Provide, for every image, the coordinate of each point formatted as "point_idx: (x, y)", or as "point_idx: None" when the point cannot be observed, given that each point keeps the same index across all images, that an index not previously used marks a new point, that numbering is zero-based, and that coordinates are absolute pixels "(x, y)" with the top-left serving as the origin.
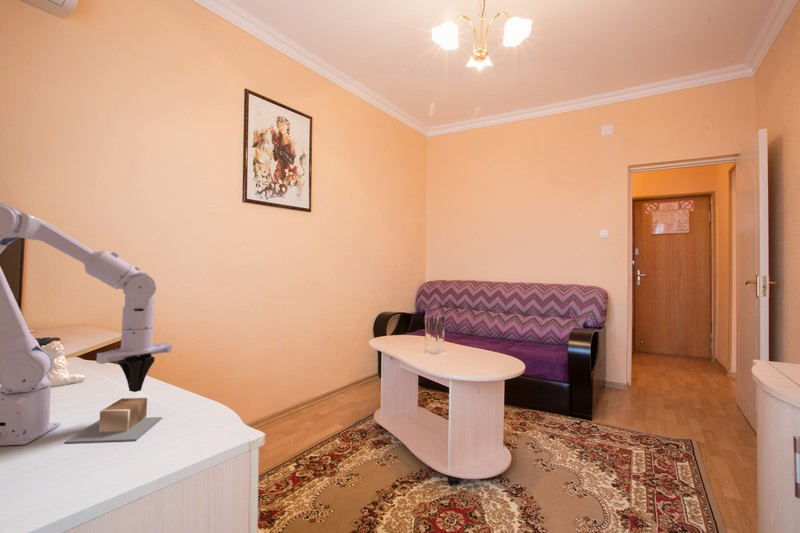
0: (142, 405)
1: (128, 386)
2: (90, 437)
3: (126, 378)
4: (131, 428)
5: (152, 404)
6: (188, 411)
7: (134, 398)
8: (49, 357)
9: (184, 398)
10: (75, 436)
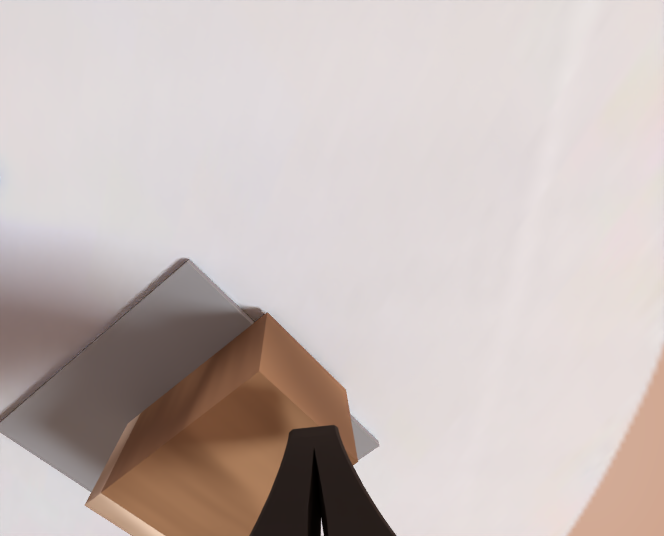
0: None
1: (286, 447)
2: (85, 455)
3: (266, 502)
4: None
5: (484, 212)
6: (495, 439)
7: (307, 426)
8: None
9: (639, 252)
10: (38, 406)
